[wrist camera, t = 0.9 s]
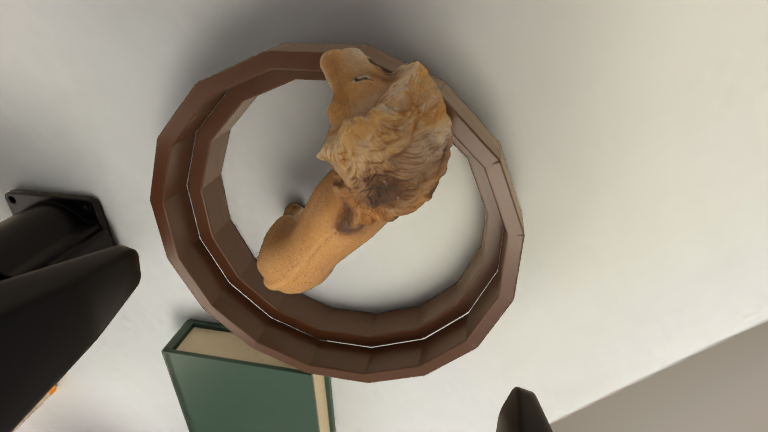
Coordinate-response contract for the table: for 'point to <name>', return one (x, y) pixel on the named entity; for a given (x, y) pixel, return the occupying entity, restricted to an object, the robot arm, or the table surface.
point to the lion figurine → (361, 168)
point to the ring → (297, 308)
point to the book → (242, 385)
